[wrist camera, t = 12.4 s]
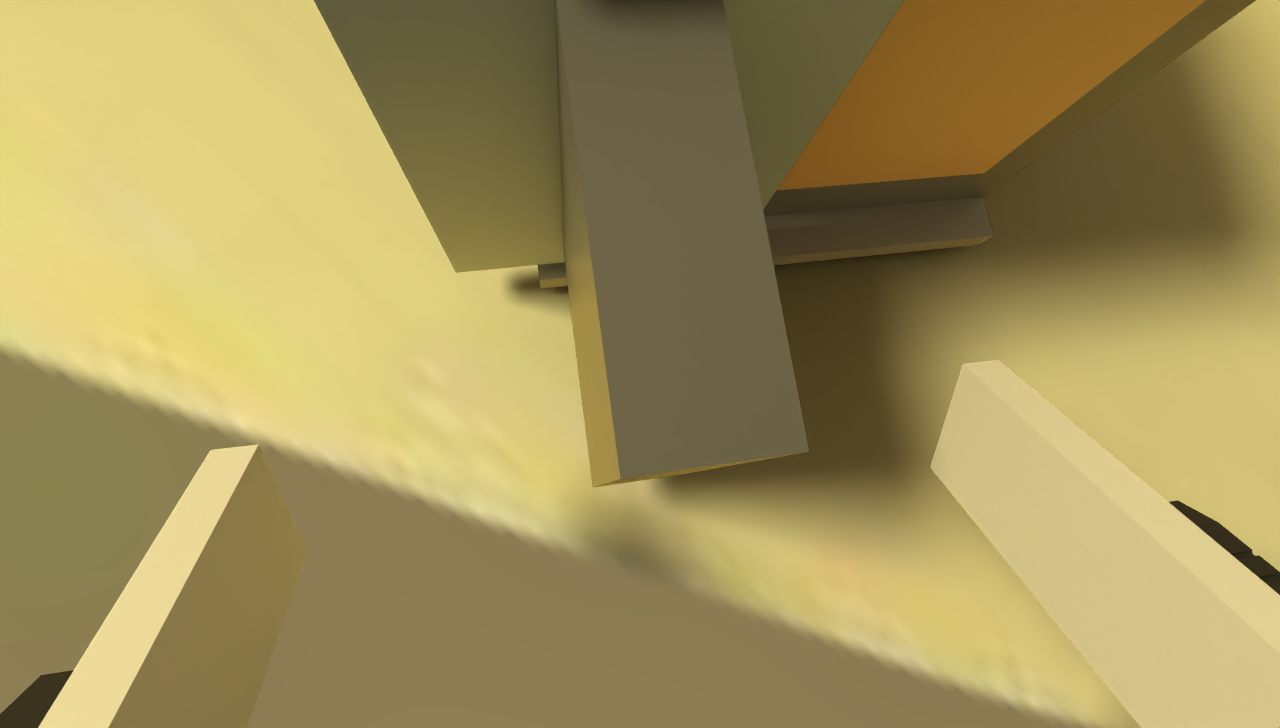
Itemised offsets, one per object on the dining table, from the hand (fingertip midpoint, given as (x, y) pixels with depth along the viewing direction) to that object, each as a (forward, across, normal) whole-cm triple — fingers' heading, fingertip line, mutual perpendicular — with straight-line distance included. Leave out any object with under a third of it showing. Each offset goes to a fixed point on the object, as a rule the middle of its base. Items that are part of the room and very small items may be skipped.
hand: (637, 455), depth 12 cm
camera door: (+7, 0, -2) cm, 7 cm away
